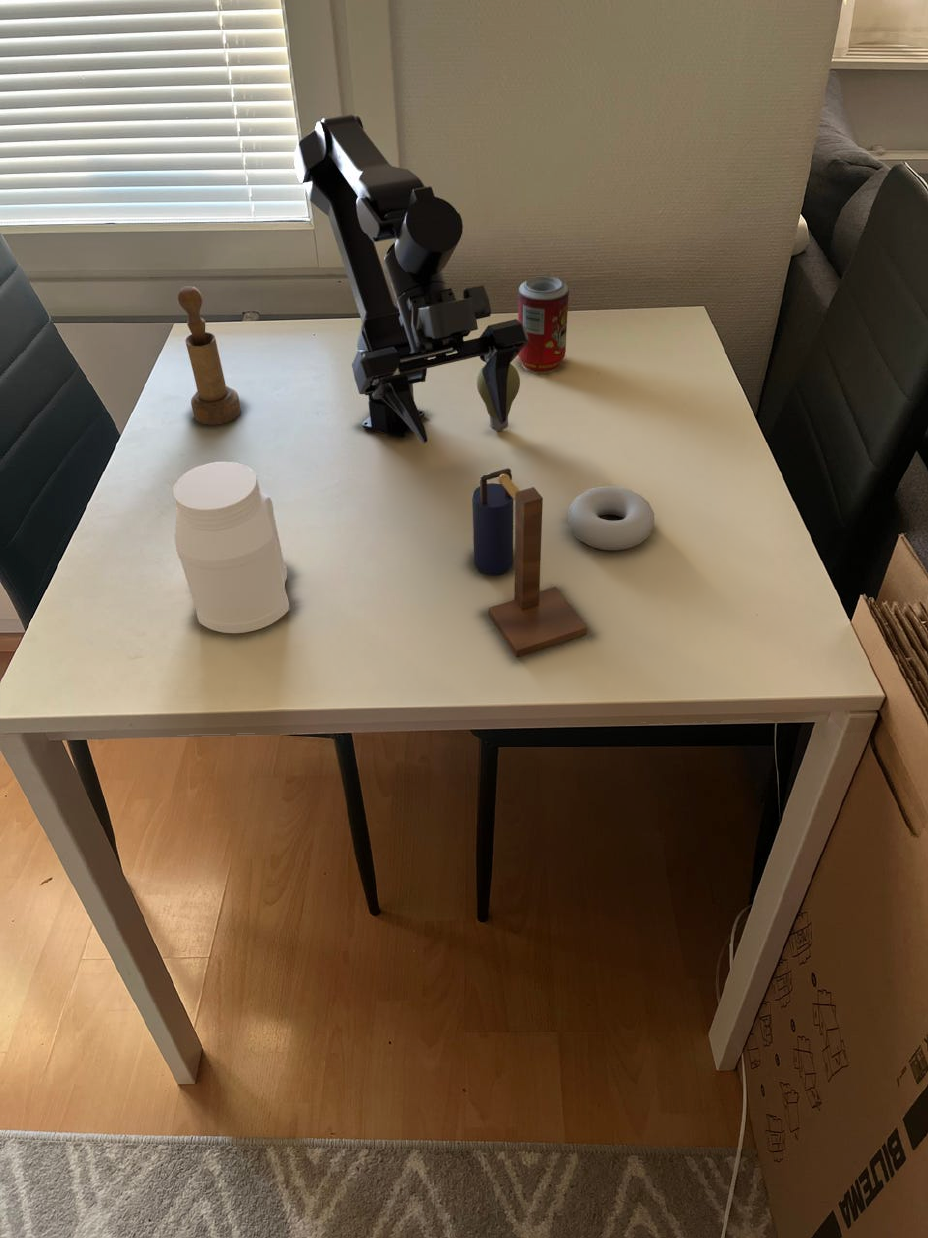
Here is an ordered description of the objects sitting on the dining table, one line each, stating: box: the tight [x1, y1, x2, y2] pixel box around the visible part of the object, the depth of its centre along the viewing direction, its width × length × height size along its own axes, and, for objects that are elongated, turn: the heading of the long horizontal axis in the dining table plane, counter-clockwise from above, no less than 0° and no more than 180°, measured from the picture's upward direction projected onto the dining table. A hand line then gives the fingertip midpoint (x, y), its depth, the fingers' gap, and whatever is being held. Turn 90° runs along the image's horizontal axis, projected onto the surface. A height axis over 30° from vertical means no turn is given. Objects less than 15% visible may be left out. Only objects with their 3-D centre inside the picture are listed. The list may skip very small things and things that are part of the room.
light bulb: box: [476, 363, 521, 433], centre depth 121 cm, size 6×6×10 cm
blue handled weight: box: [471, 467, 515, 576], centre depth 100 cm, size 4×4×13 cm
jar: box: [172, 461, 290, 634], centre depth 96 cm, size 12×10×15 cm
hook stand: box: [488, 474, 588, 658], centre depth 93 cm, size 12×8×15 cm, turn 23°
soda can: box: [517, 275, 570, 374], centre depth 133 cm, size 7×7×12 cm
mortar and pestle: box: [177, 285, 242, 426], centre depth 123 cm, size 7×6×18 cm
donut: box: [567, 485, 655, 551], centre depth 107 cm, size 10×3×10 cm
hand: (464, 432), depth 100 cm, fingers open, 9 cm apart
